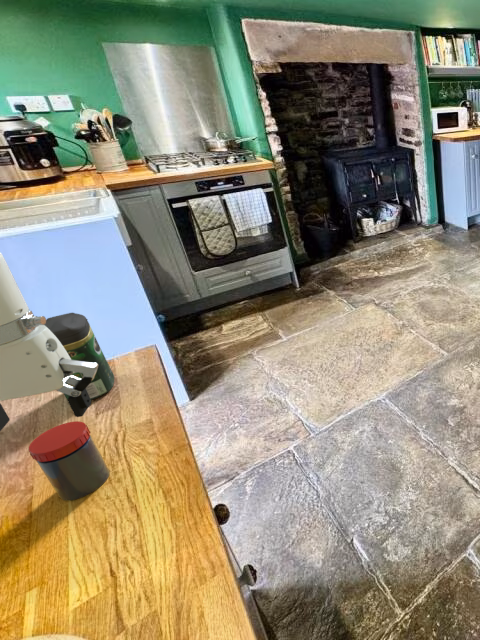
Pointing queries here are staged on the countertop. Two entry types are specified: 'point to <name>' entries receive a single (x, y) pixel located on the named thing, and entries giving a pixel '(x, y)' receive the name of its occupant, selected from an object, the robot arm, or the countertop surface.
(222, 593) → the countertop surface
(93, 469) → the jam jar
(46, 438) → the jam lid
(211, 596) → the countertop surface
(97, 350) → the coffee jar
